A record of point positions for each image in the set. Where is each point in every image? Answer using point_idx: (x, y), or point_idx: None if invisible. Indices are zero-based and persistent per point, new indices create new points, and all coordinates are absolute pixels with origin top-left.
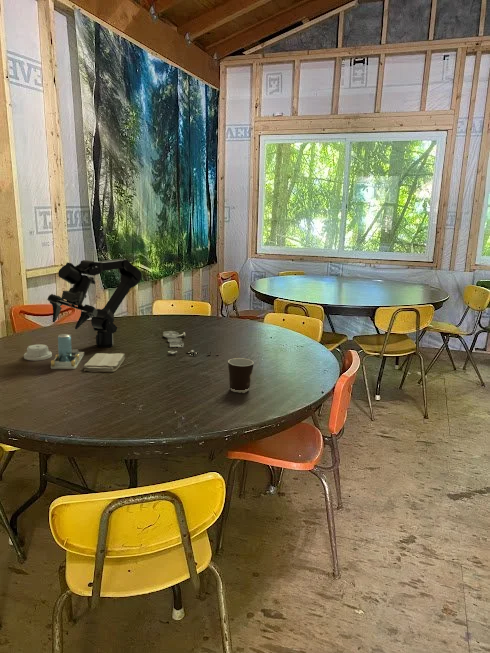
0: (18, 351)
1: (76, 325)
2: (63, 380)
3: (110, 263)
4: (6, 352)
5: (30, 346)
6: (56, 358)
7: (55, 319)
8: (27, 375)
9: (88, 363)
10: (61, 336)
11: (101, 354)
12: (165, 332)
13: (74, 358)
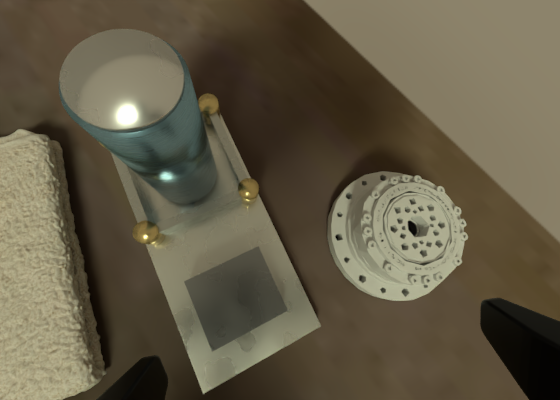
0: (517, 264)
1: (119, 391)
2: (86, 24)
3: None
4: (540, 228)
5: (449, 213)
6: (226, 152)
7: (520, 362)
8: (251, 32)
9: (25, 161)
10: (130, 40)
11: (18, 349)
12: None
13: (133, 185)
